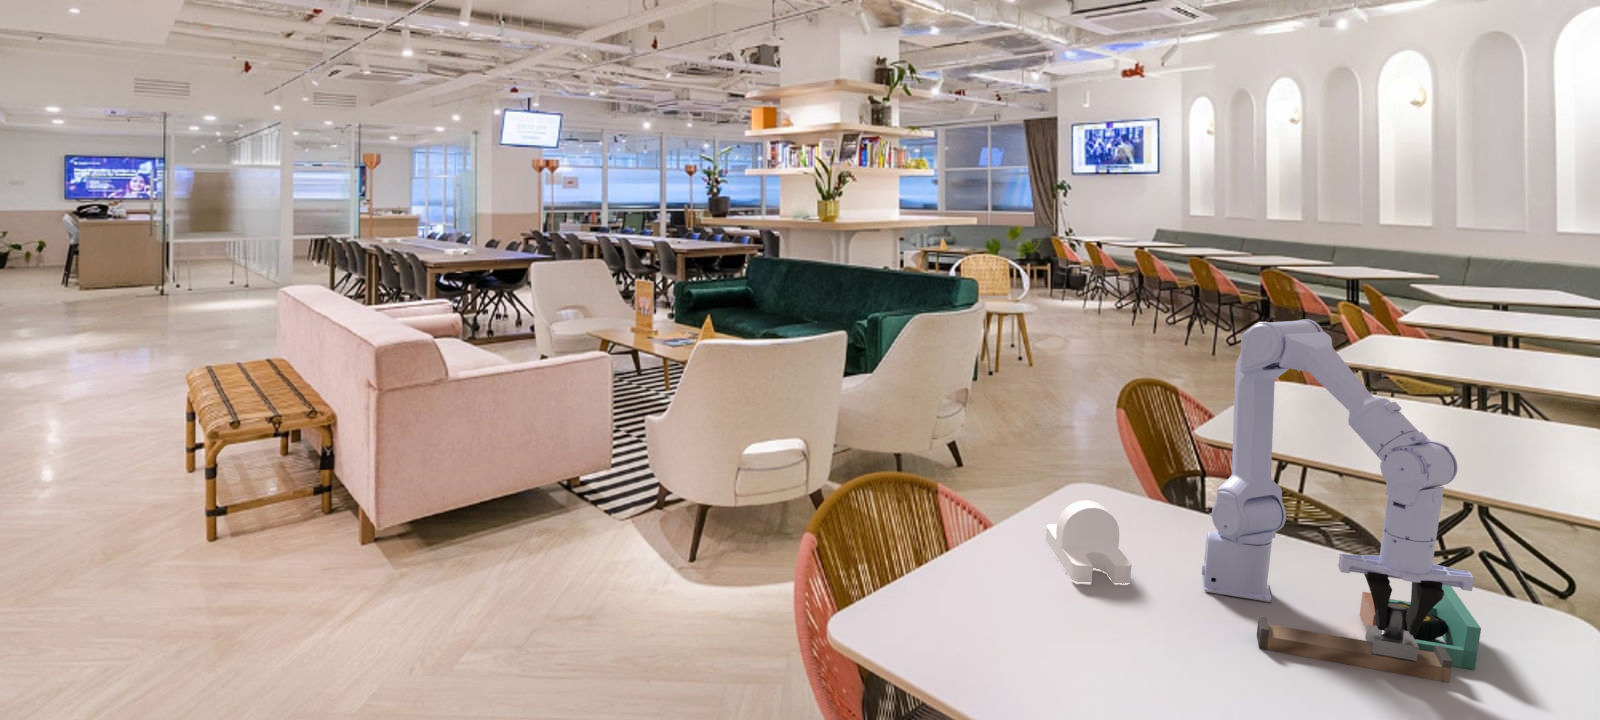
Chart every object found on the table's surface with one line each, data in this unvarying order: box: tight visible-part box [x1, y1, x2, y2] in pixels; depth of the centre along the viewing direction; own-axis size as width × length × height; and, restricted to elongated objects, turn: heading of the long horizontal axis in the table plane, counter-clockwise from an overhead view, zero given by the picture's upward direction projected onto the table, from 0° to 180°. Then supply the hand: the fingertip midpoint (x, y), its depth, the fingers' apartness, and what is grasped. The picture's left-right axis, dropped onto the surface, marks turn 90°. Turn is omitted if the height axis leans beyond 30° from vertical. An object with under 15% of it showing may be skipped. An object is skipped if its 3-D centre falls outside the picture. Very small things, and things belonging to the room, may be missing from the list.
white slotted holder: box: [1045, 499, 1133, 584], centre depth 149 cm, size 10×18×11 cm, turn 179°
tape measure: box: [1396, 600, 1447, 642], centre depth 124 cm, size 7×7×4 cm
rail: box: [1256, 615, 1453, 683], centre depth 118 cm, size 22×4×3 cm, turn 67°
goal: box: [1388, 585, 1482, 671], centre depth 123 cm, size 10×14×6 cm
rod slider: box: [1359, 591, 1419, 661], centre depth 121 cm, size 5×16×8 cm, turn 157°
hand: (1395, 629), depth 116 cm, fingers open, 3 cm apart
